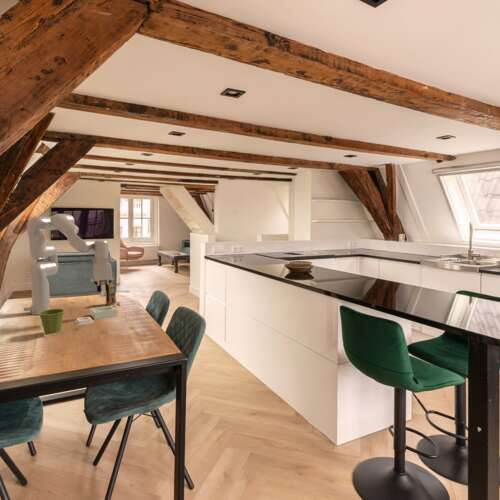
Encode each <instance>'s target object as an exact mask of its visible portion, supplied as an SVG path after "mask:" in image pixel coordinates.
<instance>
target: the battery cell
mask: <svg viewBox="0 0 500 500" xmlns="http://www.w3.org/2000/svg"><path fill="white" fill-rule="evenodd" d="M99 285H100V291H101V292H99V297H103V298H104V297H106V280H102V281H100V284H99Z"/></svg>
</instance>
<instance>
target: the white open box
mask: <svg viewBox="0 0 500 500" xmlns="http://www.w3.org/2000/svg"><path fill="white" fill-rule="evenodd" d="M112 306H113V305H107V306H105V305H103V306H97V307H90V308H89V312H90V316H91V317H92V318H93V319H94V320H100V319H108V318H114V317H117V309H116V308H115V307H112Z"/></svg>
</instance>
